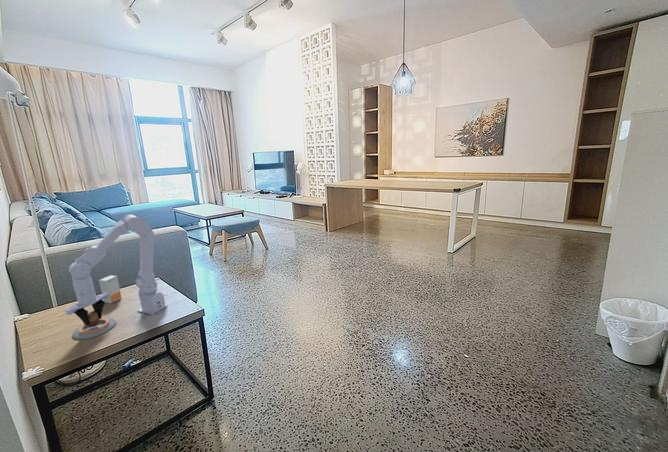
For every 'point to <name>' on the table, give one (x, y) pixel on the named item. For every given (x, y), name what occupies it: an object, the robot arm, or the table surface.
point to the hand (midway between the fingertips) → (93, 321)
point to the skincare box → (110, 288)
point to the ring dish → (94, 329)
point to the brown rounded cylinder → (93, 319)
